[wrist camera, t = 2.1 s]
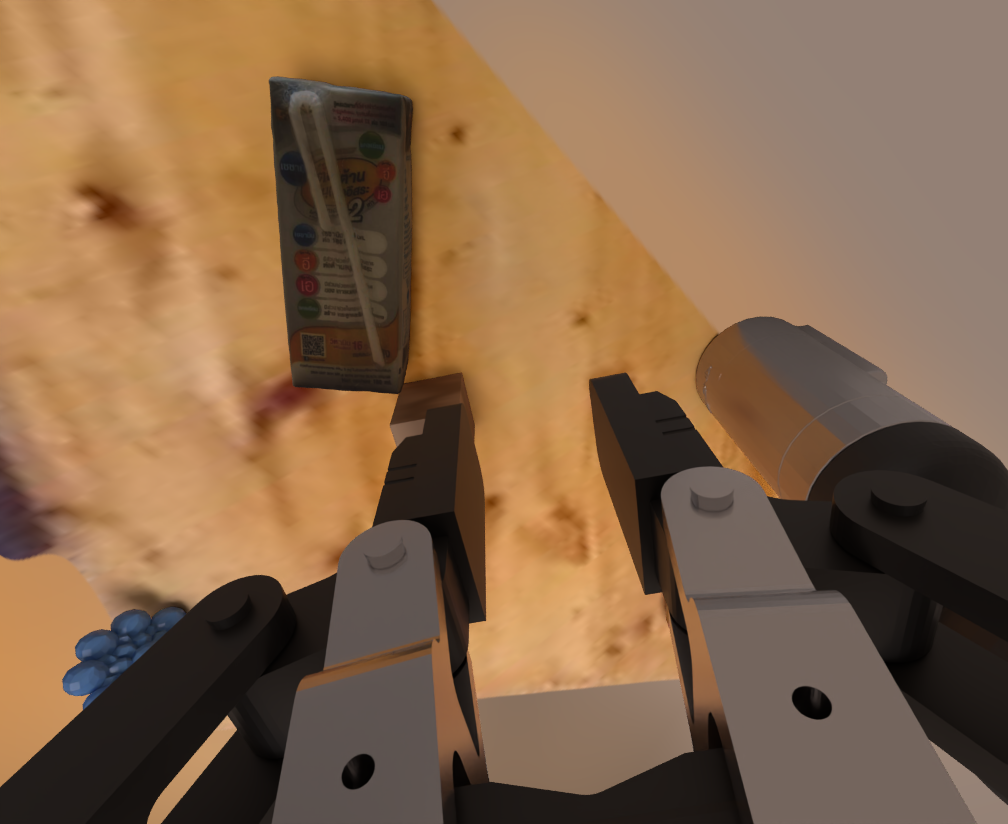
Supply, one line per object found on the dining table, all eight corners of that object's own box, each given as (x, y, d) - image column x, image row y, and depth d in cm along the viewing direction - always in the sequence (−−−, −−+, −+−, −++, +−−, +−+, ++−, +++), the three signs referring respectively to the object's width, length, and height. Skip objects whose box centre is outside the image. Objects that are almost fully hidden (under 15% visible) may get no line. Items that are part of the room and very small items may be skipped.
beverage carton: (420, 96, 35) (408, 90, 29) (412, 367, 44) (402, 404, 38) (294, 81, 35) (256, 72, 29) (312, 359, 44) (286, 395, 38)
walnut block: (461, 372, 44) (458, 412, 38) (474, 424, 47) (473, 470, 40) (402, 383, 45) (389, 425, 38) (417, 435, 47) (408, 482, 41)
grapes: (106, 610, 55) (16, 727, 44) (131, 570, 53) (43, 682, 42) (216, 656, 59) (157, 773, 48) (244, 619, 56) (189, 734, 46)
